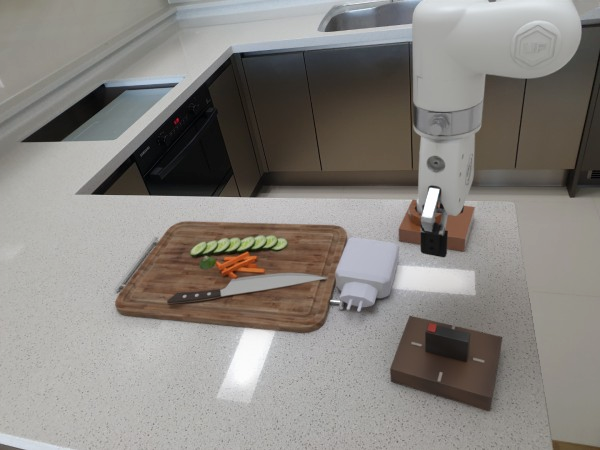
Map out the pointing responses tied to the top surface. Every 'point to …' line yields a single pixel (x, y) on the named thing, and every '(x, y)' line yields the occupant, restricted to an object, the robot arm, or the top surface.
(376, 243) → the charger
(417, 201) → the round grey push button
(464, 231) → the brown base with collar
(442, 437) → the top surface
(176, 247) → the chopping board
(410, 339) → the brown flat block
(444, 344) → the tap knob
